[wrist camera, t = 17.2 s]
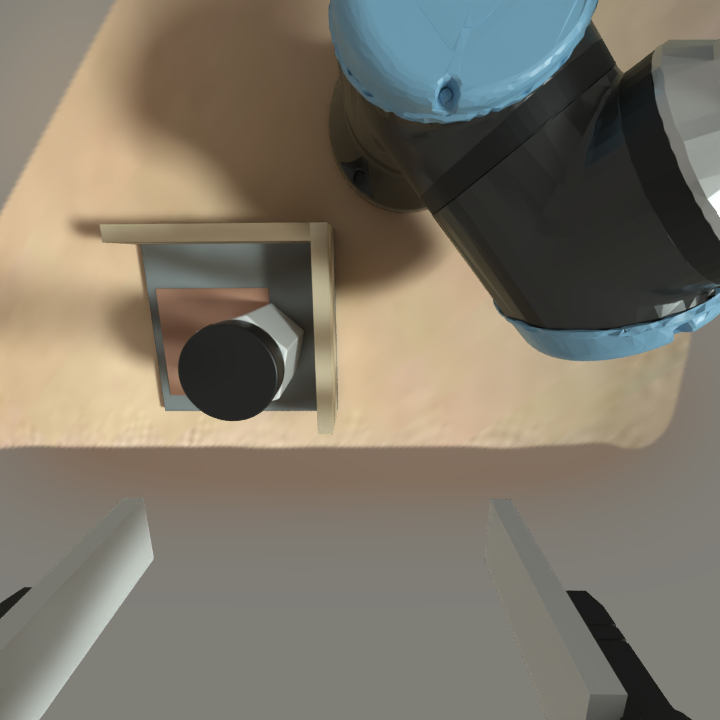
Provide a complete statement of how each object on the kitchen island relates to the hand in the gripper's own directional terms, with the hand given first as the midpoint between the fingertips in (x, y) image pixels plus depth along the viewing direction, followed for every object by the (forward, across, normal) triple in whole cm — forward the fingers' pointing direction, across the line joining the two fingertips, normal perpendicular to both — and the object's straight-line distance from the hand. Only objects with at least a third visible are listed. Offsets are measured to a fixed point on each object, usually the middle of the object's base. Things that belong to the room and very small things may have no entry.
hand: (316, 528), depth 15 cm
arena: (+30, -12, +3) cm, 32 cm away
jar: (+29, -9, +1) cm, 30 cm away
